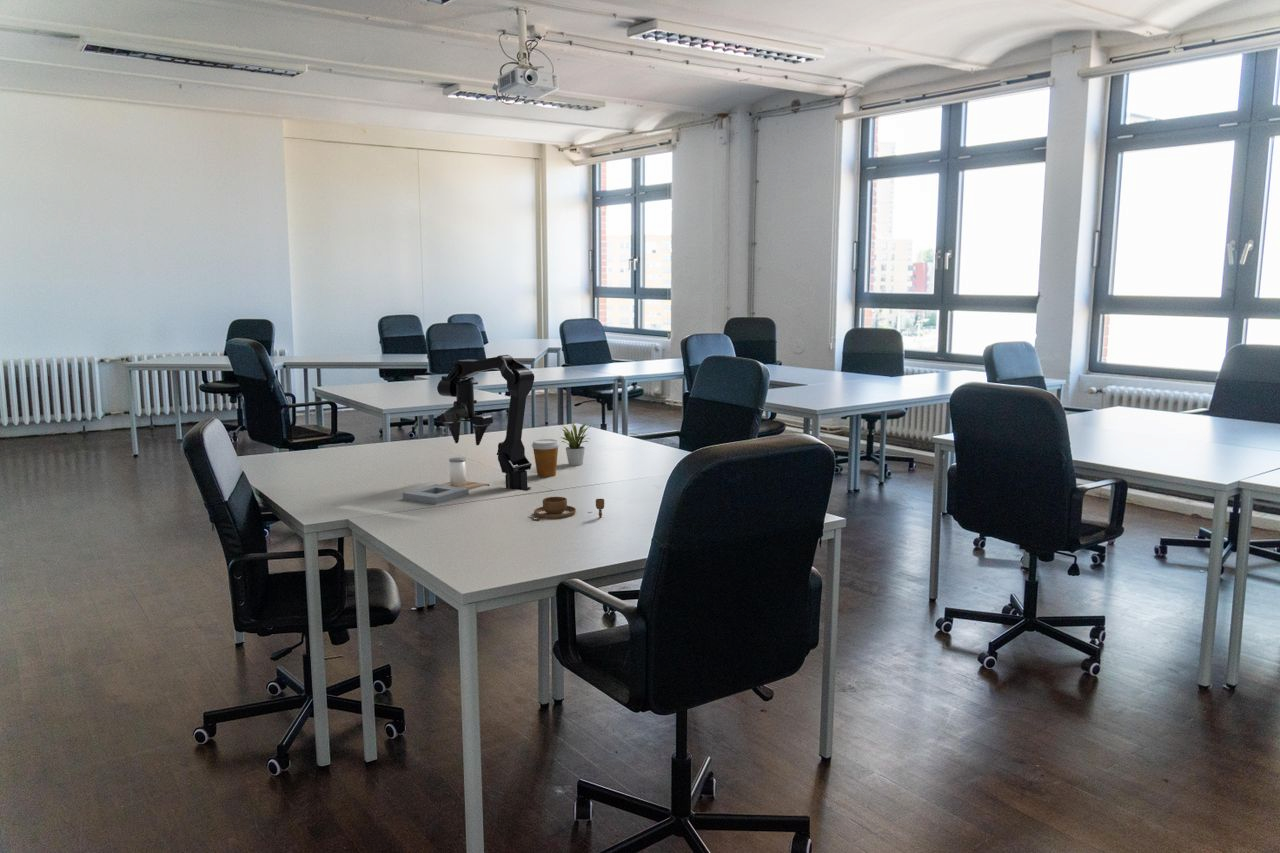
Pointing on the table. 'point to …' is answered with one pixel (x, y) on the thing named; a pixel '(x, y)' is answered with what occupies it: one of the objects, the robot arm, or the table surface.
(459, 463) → the cylinder
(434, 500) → the frame
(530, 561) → the table surface
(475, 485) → the walnut board
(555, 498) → the place setting
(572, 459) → the house plant
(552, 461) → the disposable coffee cup
